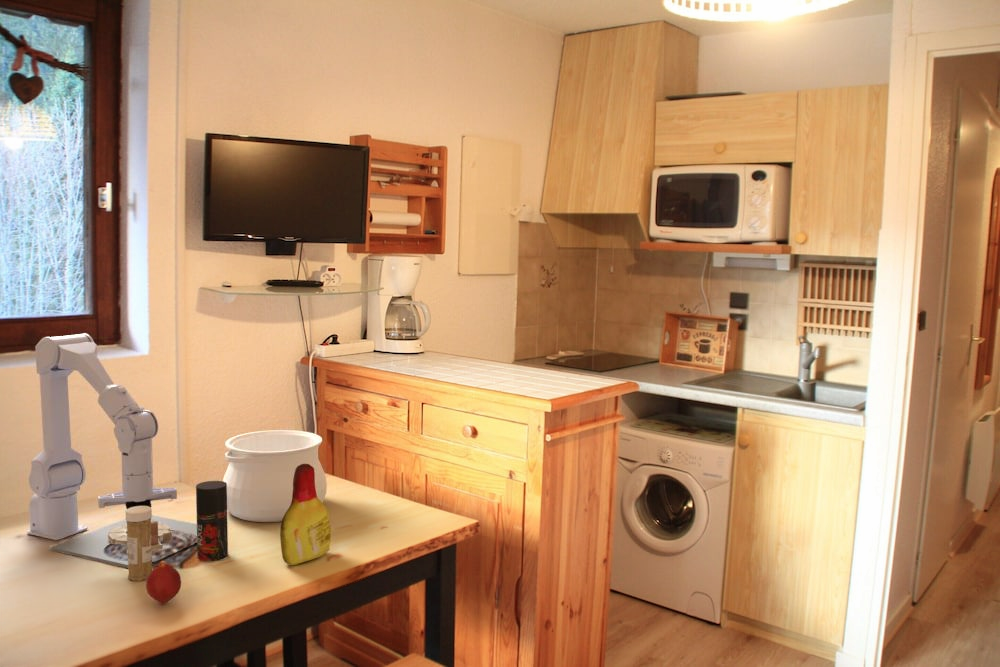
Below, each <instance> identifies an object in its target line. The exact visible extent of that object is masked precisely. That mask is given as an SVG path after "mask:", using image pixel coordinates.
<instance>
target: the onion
mask: <svg viewBox="0 0 1000 667" xmlns="http://www.w3.org/2000/svg"><path fill="white" fill-rule="evenodd" d="M181 587H182V579H181V575H180V573H179V571H178V570H177V569H176V568H175V567H173V566H172V565H170V564H168V562H166V561H165V560H160V562H159V563H158V566H156V567H154V569H153V571H152V572H151V573H150V575H149V576H148V578H147V579H146V582H145V588H146V593H147V595H148V596H149V597H150V598H151V599H153V600H154V601H156V602H158V603H159V604H160V605H167V604H168V603H169V602H170V601H172V600H173V599H174V598H175V597H176V596H177V595H178V593H179V592H180V590H181Z"/></svg>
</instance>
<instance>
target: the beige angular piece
mask: <svg viewBox="0 0 1000 667" xmlns="http://www.w3.org/2000/svg"><path fill="white" fill-rule="evenodd" d="M165 531H170V528H169V527H168V526H167V525H166V524H165V523H163V524H162V523H160V522H157V521H151V535H152V551H155V550H159V549H162V548H163V545H162V544H161V543H160V542H159V541H158V538H159V539H160V538H162V537H163V532H165ZM108 540H109V541H110V542H111V543H112V544H121V545H127V524H126V525H122V526H119V527H117V528H115V529H114V530H112V531H110V532H109V533H108Z"/></svg>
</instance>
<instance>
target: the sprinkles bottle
mask: <svg viewBox="0 0 1000 667" xmlns="http://www.w3.org/2000/svg"><path fill="white" fill-rule="evenodd" d="M152 515H153V512H152V506H151V507H149V506H135V507H131V508H128V509H127V508H126V510H125V519H126V520H127V521H126V522H127V553H128V568H127V569H128V574H127V578H128V579H129V580H131V581H134V582H135V581H144V580H147V578H148V576H149V575H150V573H151V572H152V571H153V570H154V569H153V563H152V535H151V517H152Z"/></svg>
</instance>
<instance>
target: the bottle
mask: <svg viewBox="0 0 1000 667" xmlns="http://www.w3.org/2000/svg"><path fill="white" fill-rule="evenodd" d="M280 522H281V523H280V529H279V530H280V531H279V533H280V534H279V539H280V549H281V555H282V556H281V557H282V559H283V562H284V563H285V564H287V565H288V566H294V565H295V566H296V565H299V564H301V563H304V562H308V561H311V560H315V559H317V558H318V559H319V557H321V556H324V555H325V554H326V553H327V552H329V550H330V545H331V541H332V540H331V535H332V534H331V531H332V530H331V522H330V515H329V511H328V509H327V507H326V506H325V504H324V502H323V503H322V502H321V501H320V500H319V499H318V498H317V495H316V489H315V472H314V468H313V467H312V466H311V465H309V464H301V465H299V466H297V468H296V469H295V473H294V478H293V493H292V502H291V505H290V507H289V509H288V510H287V511H286V513H285V515H284V517H283V519H282V521H280Z"/></svg>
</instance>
